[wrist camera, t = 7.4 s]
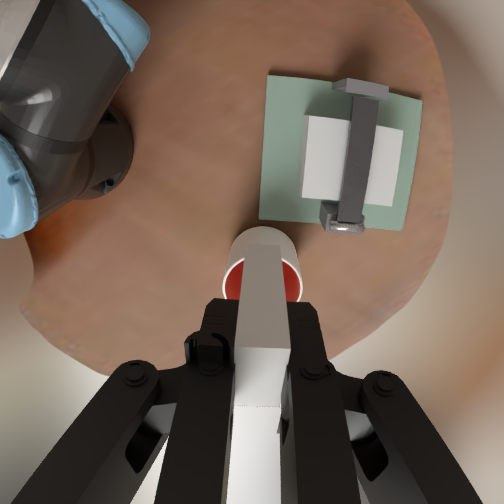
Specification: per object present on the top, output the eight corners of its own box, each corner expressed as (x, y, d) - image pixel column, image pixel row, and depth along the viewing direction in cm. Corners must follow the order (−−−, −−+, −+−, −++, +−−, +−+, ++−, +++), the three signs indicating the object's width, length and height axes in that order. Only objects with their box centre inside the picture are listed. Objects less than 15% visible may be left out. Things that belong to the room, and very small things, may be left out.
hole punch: (258, 216, 45) (257, 240, 38) (267, 76, 37) (268, 67, 29) (399, 227, 45) (422, 251, 37) (418, 100, 36) (449, 102, 29)
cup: (264, 209, 45) (265, 237, 36) (309, 255, 48) (318, 291, 39) (216, 252, 48) (205, 287, 39) (261, 293, 51) (260, 333, 42)
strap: (328, 227, 39) (330, 231, 38) (345, 94, 31) (348, 95, 30) (360, 230, 39) (363, 234, 38) (381, 101, 31) (385, 101, 30)
